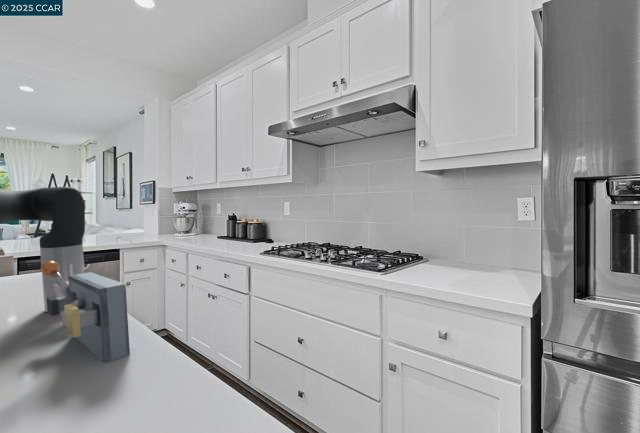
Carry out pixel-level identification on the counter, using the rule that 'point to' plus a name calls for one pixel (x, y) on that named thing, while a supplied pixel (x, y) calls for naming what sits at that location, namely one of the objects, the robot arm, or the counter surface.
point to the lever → (61, 282)
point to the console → (103, 315)
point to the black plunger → (56, 304)
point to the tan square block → (79, 318)
